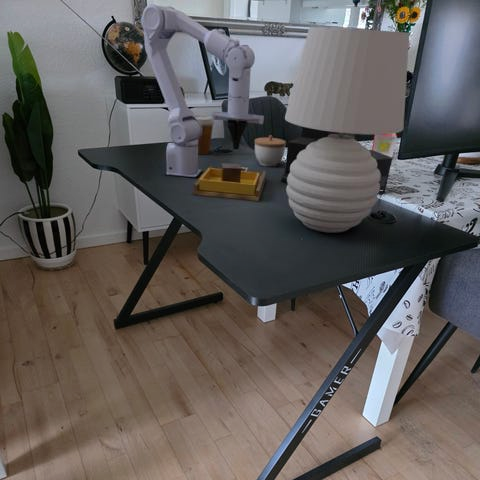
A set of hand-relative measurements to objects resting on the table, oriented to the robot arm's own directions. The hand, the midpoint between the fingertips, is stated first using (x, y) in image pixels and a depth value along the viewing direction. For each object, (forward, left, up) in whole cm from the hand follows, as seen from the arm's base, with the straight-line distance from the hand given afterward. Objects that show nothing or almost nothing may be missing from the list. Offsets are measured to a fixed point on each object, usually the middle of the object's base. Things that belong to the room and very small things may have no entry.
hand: (236, 148), depth 130 cm
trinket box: (+8, +27, -10) cm, 30 cm away
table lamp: (+27, -28, -10) cm, 40 cm away
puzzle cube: (+51, +59, -10) cm, 78 cm away
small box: (+40, +7, -10) cm, 42 cm away
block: (0, -8, -8) cm, 11 cm away
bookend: (+23, +15, -10) cm, 29 cm away
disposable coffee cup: (-18, +35, -10) cm, 40 cm away
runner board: (0, -5, -10) cm, 11 cm away
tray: (0, -6, -8) cm, 10 cm away
